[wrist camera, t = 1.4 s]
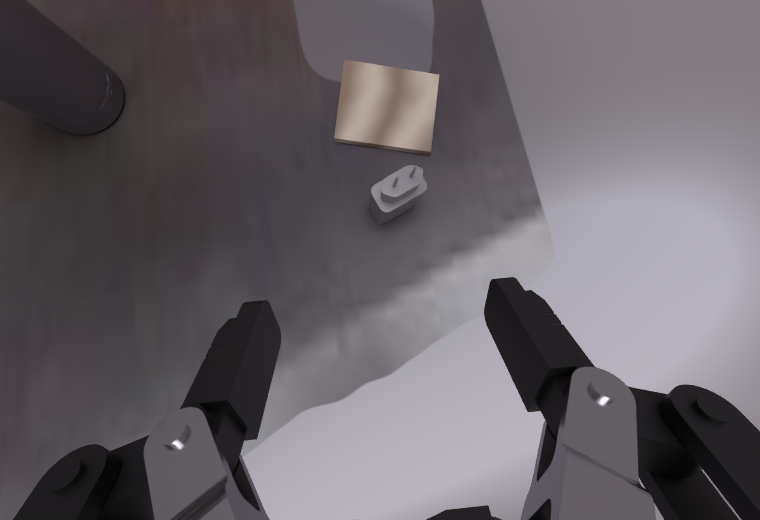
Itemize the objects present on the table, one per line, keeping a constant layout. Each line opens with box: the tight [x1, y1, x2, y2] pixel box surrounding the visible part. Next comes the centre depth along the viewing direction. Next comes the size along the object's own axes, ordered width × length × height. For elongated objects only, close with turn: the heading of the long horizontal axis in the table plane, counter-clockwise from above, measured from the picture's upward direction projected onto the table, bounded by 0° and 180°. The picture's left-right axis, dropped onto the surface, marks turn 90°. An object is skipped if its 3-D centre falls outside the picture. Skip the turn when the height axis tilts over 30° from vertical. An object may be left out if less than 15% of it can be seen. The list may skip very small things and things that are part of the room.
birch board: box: [334, 60, 439, 155], centre depth 36 cm, size 12×10×1 cm
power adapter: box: [369, 165, 427, 224], centre depth 30 cm, size 3×5×12 cm, turn 121°
